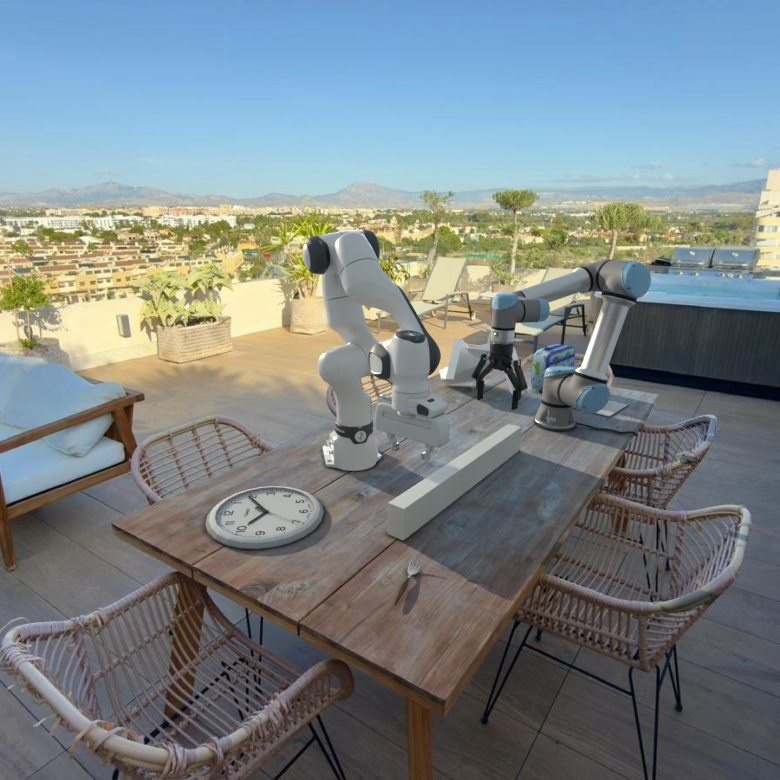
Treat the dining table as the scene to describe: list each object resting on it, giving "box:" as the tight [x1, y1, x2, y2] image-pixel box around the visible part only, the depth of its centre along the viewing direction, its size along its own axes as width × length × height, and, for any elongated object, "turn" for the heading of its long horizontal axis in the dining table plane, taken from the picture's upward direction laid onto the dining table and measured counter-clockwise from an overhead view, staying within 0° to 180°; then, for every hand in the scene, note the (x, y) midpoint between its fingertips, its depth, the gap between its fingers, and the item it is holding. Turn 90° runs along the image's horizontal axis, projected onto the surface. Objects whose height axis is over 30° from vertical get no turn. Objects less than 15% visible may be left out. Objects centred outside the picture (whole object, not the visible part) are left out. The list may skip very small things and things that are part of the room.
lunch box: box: [530, 343, 576, 392], centre depth 248 cm, size 26×11×21 cm, turn 134°
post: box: [387, 423, 522, 541], centre depth 154 cm, size 69×5×9 cm, turn 143°
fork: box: [393, 553, 424, 606], centre depth 112 cm, size 3×16×2 cm, turn 160°
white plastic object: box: [438, 338, 531, 397], centre depth 245 cm, size 37×45×31 cm
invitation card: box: [595, 399, 629, 418], centre depth 226 cm, size 21×1×15 cm
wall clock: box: [205, 485, 325, 550], centre depth 137 cm, size 30×2×30 cm
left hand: (410, 454), depth 127 cm, fingers open, 8 cm apart
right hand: (496, 404), depth 175 cm, fingers open, 13 cm apart
